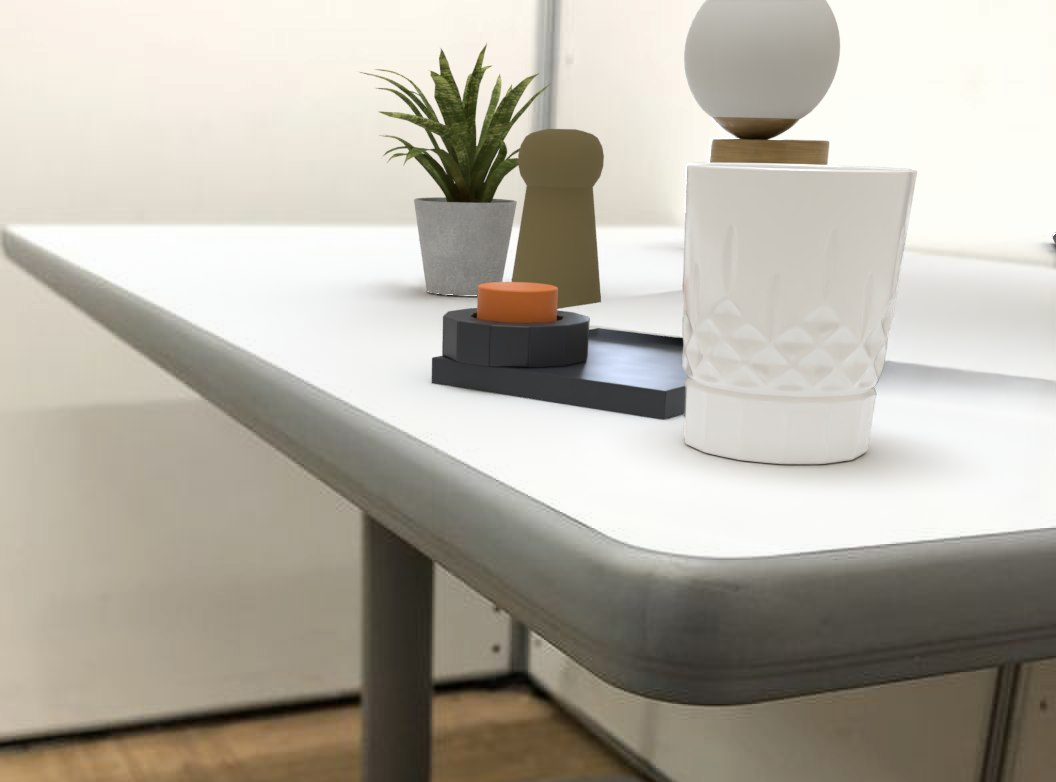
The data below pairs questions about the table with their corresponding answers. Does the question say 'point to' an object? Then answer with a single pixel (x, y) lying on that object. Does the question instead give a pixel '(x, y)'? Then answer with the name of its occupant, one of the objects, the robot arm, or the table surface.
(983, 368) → the table surface
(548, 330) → the scale
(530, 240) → the cork
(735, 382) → the white cup
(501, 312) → the button
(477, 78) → the house plant
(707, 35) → the lamp
